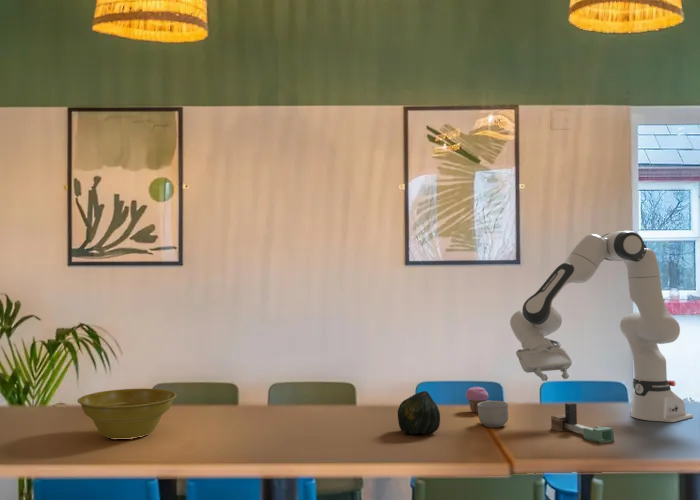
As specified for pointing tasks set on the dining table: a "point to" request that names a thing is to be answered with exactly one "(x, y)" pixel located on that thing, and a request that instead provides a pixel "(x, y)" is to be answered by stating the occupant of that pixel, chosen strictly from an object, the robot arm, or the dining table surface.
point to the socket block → (558, 422)
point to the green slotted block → (599, 434)
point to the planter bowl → (127, 410)
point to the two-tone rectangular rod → (572, 419)
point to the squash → (419, 414)
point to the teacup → (493, 413)
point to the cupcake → (476, 397)
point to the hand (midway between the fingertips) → (556, 378)
